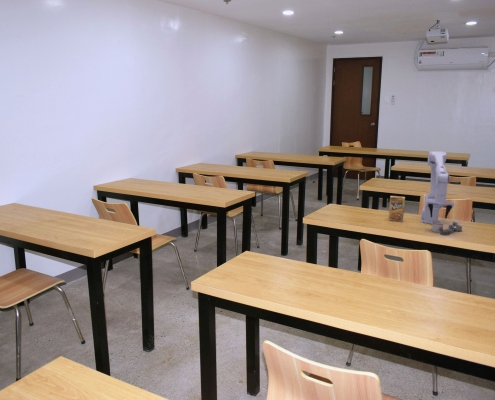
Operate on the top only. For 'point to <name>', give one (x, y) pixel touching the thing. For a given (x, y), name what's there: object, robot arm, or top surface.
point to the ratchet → (452, 229)
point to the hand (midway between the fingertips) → (438, 217)
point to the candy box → (396, 208)
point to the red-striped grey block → (437, 226)
